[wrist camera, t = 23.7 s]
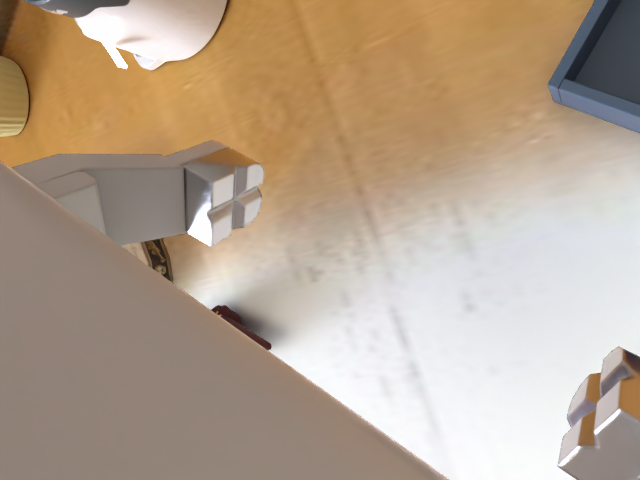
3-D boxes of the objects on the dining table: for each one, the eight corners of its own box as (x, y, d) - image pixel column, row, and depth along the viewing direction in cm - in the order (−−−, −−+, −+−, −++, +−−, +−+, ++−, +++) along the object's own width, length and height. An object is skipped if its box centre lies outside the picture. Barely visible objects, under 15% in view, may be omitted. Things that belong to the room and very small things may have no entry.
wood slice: (101, 193, 57) (78, 194, 54) (181, 237, 49) (160, 240, 47) (90, 298, 61) (69, 303, 59) (162, 351, 54) (142, 360, 52)
